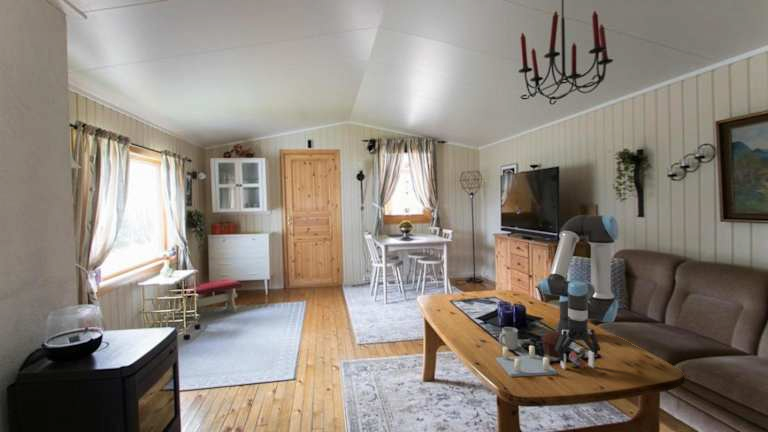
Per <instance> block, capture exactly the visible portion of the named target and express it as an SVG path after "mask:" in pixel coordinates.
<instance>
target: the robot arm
mask: <svg viewBox="0 0 768 432" xmlns="http://www.w3.org/2000/svg"><path fill="white" fill-rule="evenodd" d="M558 237H559V242H558V245H557V248H556V251H555V255H554V258H553V260H552V264H551V268H550V271H549V274H548V276H547V277H543V278H542V279H541V281H540V291H541V292H542V293H543V294H546V295H550V296H557V297H558V296H559V301H558V302H559V320H558V322H557V325H556V327H555V332H559V333H561V335H560V337H559V339H558V342H557V344H556V347H555V351H557V352H558V353H559V357H558V359H559V361H560V368H562V369H564V370H567V354H566V352H567V350H568V349H569V348H570V346H571V345H572V343H573V342H575V341H583V342H584V343H585V344H586V346H587V347H588V349H589V350H588V367H590V368H592V369H595V360H597V359H596V358H597V355H596V354H598V353H599V352H600V351H601V347H600V345H599V342H598V340H597V338H596V336H595V330H594V329H593V328H591V327H588V325H589V324H588V321H589V320H593V321H597V322H598V321H599V322H602V323H613V322H614V321H615V319H616V316H617V312H618V308H619V301H618V300H617V299H615V295H614V294H613V293H612V291H611V286H612V285H611V284H612V283H611V280H612V279H611V278H612V276H611V274H612V273H611V272H612V271H611V270H612V269H611V267H612V266H611V265H612V264H611V263H612V262H611V256H612V255H611V249H612V248H611V247H612V245H614V244H615V240H617V239H618V238H619V226H618V221H617V220H616V218H615V217H614V216H611V215H602V214H601V215H599V214H598V215H595V214H594V215H584V214H583V215H576V216H574V217H572V218H570V219H569V220H568V221H566V222H565V224H564V225H563V226H562V227H561V229H560V231H559V235H558ZM581 238H582V239H587V243H588V244H589V246H590V282H589V281H579V280H578V281H571V280H567V276H568V274H569V269H570V266H571V263H572V259H573V255H574V252H575V249H576V245H577V244H576V243H579V241H580V239H581ZM588 336H589V338H590V340H591V341H590V340H589V338H588ZM565 339H566V340H565ZM564 341H565V342H564ZM565 351H566V352H565Z"/></svg>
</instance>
